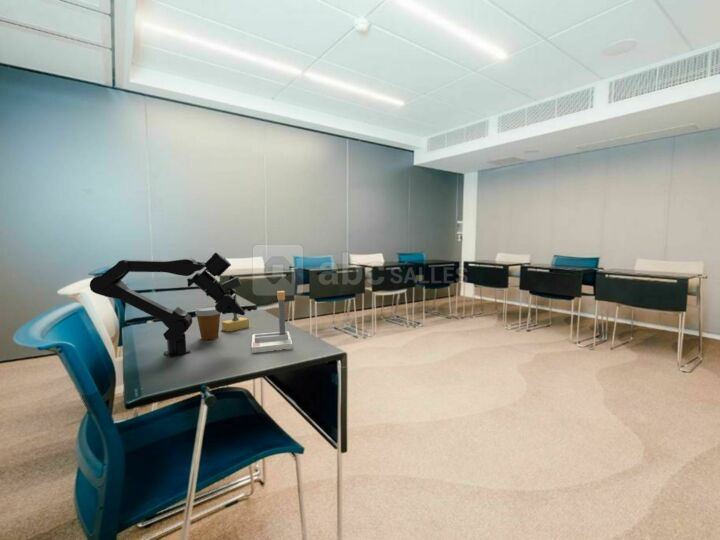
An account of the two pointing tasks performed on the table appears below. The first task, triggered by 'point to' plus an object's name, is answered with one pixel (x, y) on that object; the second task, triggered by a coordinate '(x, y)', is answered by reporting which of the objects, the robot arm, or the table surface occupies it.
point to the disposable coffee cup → (208, 322)
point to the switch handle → (281, 311)
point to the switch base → (271, 342)
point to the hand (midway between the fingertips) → (244, 314)
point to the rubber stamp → (235, 323)
